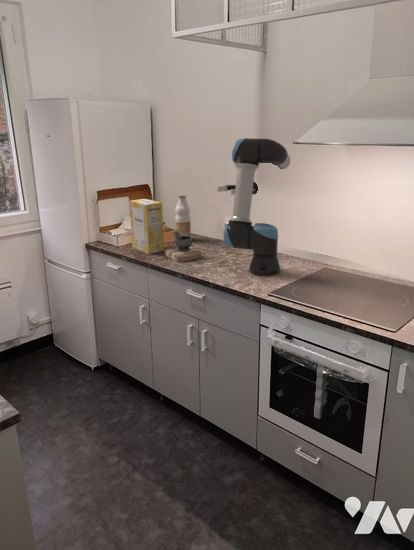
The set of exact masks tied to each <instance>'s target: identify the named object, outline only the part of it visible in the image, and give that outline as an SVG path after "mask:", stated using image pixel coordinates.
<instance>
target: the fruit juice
mask: <svg viewBox="0 0 414 550" xmlns="http://www.w3.org/2000/svg"><path fill="white" fill-rule="evenodd" d="M177 197H178V201H177V203H176V206H175V210H174V211H175V218H174V221H175V230H178V233H179V234H180V236H189V237H192V235H191V233H192V232H191V216H190V213H191V212H190V211H191V208H190V206H189V204H188V201H187V195H186V194H179V195H178V196H177Z"/></svg>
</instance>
